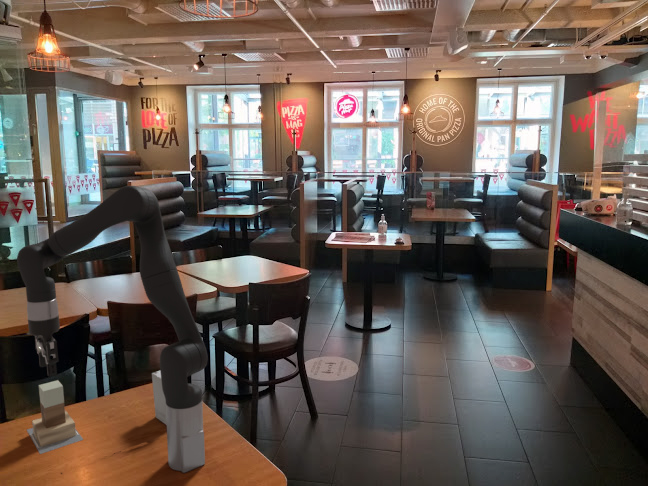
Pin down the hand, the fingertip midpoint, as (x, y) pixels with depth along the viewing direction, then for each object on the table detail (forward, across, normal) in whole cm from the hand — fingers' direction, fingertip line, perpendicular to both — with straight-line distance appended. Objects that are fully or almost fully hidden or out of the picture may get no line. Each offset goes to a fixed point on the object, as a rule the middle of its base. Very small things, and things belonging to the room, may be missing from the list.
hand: (48, 370), depth 143 cm
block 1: (+9, 0, 0) cm, 9 cm away
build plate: (+20, 0, 0) cm, 20 cm away
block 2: (+15, 0, 0) cm, 16 cm away
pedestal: (+19, 0, 0) cm, 19 cm away
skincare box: (+21, -11, -30) cm, 38 cm away
